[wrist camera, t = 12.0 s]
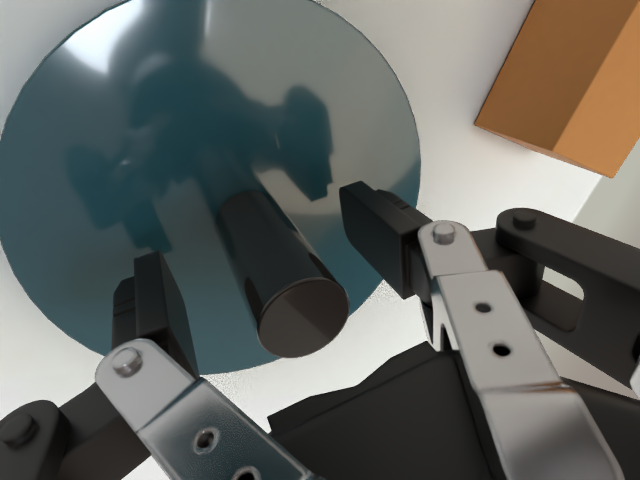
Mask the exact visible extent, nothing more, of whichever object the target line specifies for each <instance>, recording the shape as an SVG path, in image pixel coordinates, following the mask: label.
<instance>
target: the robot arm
mask: <svg viewBox="0 0 640 480" xmlns="http://www.w3.org/2000/svg"><path fill="white" fill-rule="evenodd" d="M339 199H340V205H341V212H342V219H343V225H344V230H345V234H346V236H347V238H348V240H349V242H350V244H351V245H352V246H353V247H354V248H355V249H356V250H357V251H358V252H359V253H360V254H361V255H362V256H363V257H364V259H365V260H366V261H367V262H368V263H369V264H370V265H371V266H372V267H373V268H374V269H375V270H376V271H377V272H378V273H379V274H380V275H381V277H382V278H383V279H384V280H385V281H386V282H387V283H388V284H389V285H390V286H391V287H392V288H393V289H394V290H395V291H396V292H397V293H398V294H399V296H400V297H401V298H402V299H403V300H404V299H406V298H409V297H411V296H413V295H415V294H416V295H417V296H418V297H419V298H420V311H421V315H422V319H423V323H424V327H425V331H426V335H427V339H428V341H425V342H423V343H421V344H419V345H417V346H414V347H412V348H410V349H408V350H406V351H404V352H402V353H400V354H398V355H396V356H393V357H391V358H390V359H389V360H387V361H386V362H385V363H384V364H383V365H381V366H380V367H379V368H378V369H377V370H375V371H374V372H373V373H372V374H371V375H369V376H368V377H367V378H366V379H365V380H363V381H362V382H361V383H360V384H358V385H356V386H354V387H350V388H345V389H341V390H337V391H332V392H328V393H323V394H319V395H314V396H310V397H308V398H306V399H303V400H301V401H299V402H297V403H295V404H293V405H291V406H289V407H287V408H285V409H283V410H280V411H278V412H276V413H274V414H272V415H270V416H268V417H267V419H268V422H269V424H270V427H271V430H272V431H271V432H270V433H268V434H267V433H266V432H265V431H264V430H263V429H262V428H261V427H259V426H258V425H257V424H256V423H255V422H254V421H253V420H252V419H250V418H249V417H248V416H247V415H246V414H245V413H244V412H243V411H241V410H240V409H239V408H238V407H237V406H236V405H235V404H233V403H232V402H231V401H230V400H229V399H228V398H227V397H226V396H224V395H223V394H222V393H221V392H220V391H219V390H218V389H216V388H215V387H214V386H213V385H212V384H211V383H210V382H209V381H207V380H206V379H205V378H203V377H200V376H199V371H198V366H197V361H196V356H195V351H194V346H193V341H192V336H191V331H190V326H189V321H188V316H187V312H186V307H185V303H184V300H183V297H182V295H181V292H180V290H179V288H178V286H177V284H176V281H175V279H174V277H173V275H172V273H171V271H170V269H169V267H168V265H167V262H166V260H165V258H164V256H163V254H162V252H161V251H160V250H157V251H154V252H151V253H148V254H145V255H142V256H139V257H136V258H134V276H133V277H130V278H127V279H124V280H121V282H120V284H119V285H118V287H117V289H116V290H115V292H114V294H113V307H114V308H113V318H112V343H111V351H110V352H109V353H108V354H107V355H106V356H105V357H104V358H103V359H102V361H101V362H100V363H99V365H98V367H97V369H96V372H95V381H96V382H95V383H94V384H92V385H91V386H90V387H89V388H87V389H86V390H85V391H83V392H82V393H80V394H79V395H77V396H76V397H74V398H73V399H71V400H70V401H68V402H67V403H65V404H64V405H62V406H61V407H59V408H58V407H57V406H56V405H55V404H54V403H53V402H51V401H48V400H38V401H34V402H31V403H28V404H25V405H23V406H21V407H19V408H18V409H16V410H14V411H13V412H11V413H10V414H8V415H7V416H6V417H5V418H3V419H2V420H1V421H0V480H121V479H122V478H124V477H125V476H126V475H127V474H129V473H130V472H131V471H132V470H134V469H135V468H136V467H137V466H138V465H140V464H141V463H142V462H143V461H145V460H146V459H147V458H148V457H150V456H152V457H153V458H154V459H155V461H156V462H157V463H158V465H159V466H160V467H161V468H162V470H163V471H164V472H165V474H166V475H167V476H168V477H169V479H170V480H640V400H637V399H633V398H630V397H627V396H623V395H620V394H617V393H614V392H610V391H607V390H603V389H600V388H597V387H593V386H590V385H587V384H584V383H581V382H577V381H574V380H571V379H567V378H564V377H561V376H559V375H558V373H557V371H556V369H555V367H554V365H553V364H552V362H551V360H550V358H549V356H548V354H547V353H546V351H545V349H544V347H543V345H542V343H541V342H540V340H539V338H538V336H537V334H536V332H535V331H534V329H535V330H537V331H539V332H540V333H542V334H543V335H545V336H547V337H548V338H550V339H551V340H553V341H555V342H556V343H558V344H559V345H561V346H563V347H564V348H566V349H567V350H569V351H570V352H572V353H574V354H575V355H577V356H579V357H580V358H582V359H583V360H585V361H587V362H588V363H590V364H591V365H593V366H595V367H596V368H598V369H599V370H601V371H603V372H604V373H606V374H607V375H609V376H611V377H612V378H614V379H615V380H617V381H619V382H620V383H622V384H623V385H625V386H627V387H628V388H630V389H631V390H633V391H634V393H635V394H636V396H637V397H638V398H639V399H640V249H638V248H636V247H633V246H631V245H628V244H625V243H622V242H620V241H617V240H615V239H612V238H610V237H607V236H604V235H602V234H599V233H596V232H594V231H591V230H588V229H586V228H583V227H581V226H578V225H575V224H573V223H570V222H568V221H565V220H562V219H560V218H557V217H554V216H552V215H549V214H546V213H544V212H541V211H538V210H535V209H530V208H513V209H508V210H505V211H503V212H501V213H500V214H499V215H498V217H497V221H496V228H491V229H484V230H478V231H471V232H470V231H469V229H468V228H467V227H466V226H464V225H462V224H460V223H458V222H454V221H447V220H441V221H432V220H431V219H429V218H428V217H427V216H425V215H424V214H422V213H421V212H419V211H418V210H417V209H415V208H414V207H412V206H411V207H410V205H409V204H408V203H407V202H405V201H402V199H401V198H399V197H398V196H397V195H395V194H394V193H392V192H388V191H384V190H381V189H378V190H374V189H372V188H371V187H370V186H368V185H367V184H366V183H364V182H363V181H357V182H354V183H352V184H349V185H346V186H343V187H340V189H339ZM545 266H546V267H548V268H550V269H552V270H554V271H556V272H558V273H560V274H563V275H565V276H567V277H568V278H571V279H573V280H574V281H576V282H577V283H578V284H579V285H580V286H581V288H582V289H583V292H584V299H583V300H580V299H579V298H577V297H575V296H573V295H571V294H569V293H567V292H565V291H563V290H561V289H559V288H557V287H555V286H553V285H552V284H549V283H548V282H546V281H544V280H542V278H543V273H544V268H545ZM533 328H534V329H533Z"/></svg>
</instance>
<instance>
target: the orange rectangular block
mask: <svg viewBox="0 0 640 480" xmlns="http://www.w3.org/2000/svg"><path fill="white" fill-rule="evenodd" d="M475 125H476V126H478V127H480V128H483V129H485V130H487V131H489V132H492V133H494V134H496V135H499V136H501V137H503V138H506V139H508V140H510V141H513V142H515V143H517V144H519V145H522V146H524V147H526V148H529V149H531V150H533V151H536V152H539V153H542V154H544V155H547V156H550V157H553V158H556V159H558V160H561V161H564V162H567V163H570V164H572V165H575V166H578V167H581V168H584V169H586V170H589V171H592V172H595V173H598V174H600V175H603V176H606V177H609V178H613V177H614V176H615V174H616V173H617V171H618V170H619V168H620V167H621V165H622V164H623V162H624V160H625V159H626V157H627V156H628V154H629V153H630V151H631V149H632V148H633V147H634V145H635V143H636V142H637V140H638V139H639V137H640V0H535V2H534V4H533V6H532V8H531V10H530V12H529V14H528V17H527V19H526V21H525V23H524V25H523V27H522V29H521V31H520V33H519V35H518V37H517V39H516V41H515V43H514V45H513V47H512V49H511V51H510V53H509V55H508V57H507V59H506V61H505V63H504V65H503V67H502V69H501V71H500V73H499V75H498V77H497V79H496V81H495V83H494V85H493V87H492V89H491V91H490V94H489V96H488V98H487V100H486V102H485V104H484V106H483V108H482V110H481V112H480V114H479V116H478V118H477V120H476V122H475Z"/></svg>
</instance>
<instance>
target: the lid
mask: <svg viewBox="0 0 640 480" xmlns="http://www.w3.org/2000/svg"><path fill="white" fill-rule="evenodd" d="M420 170H421V158H420V146H419V138H418V133H417V128H416V123H415V119H414V115H413V113H412V110H411V107H410V104H409V101H408V98H407V96H406V94H405V92H404V90H403V88H402V86H401V84H400V82H399V80H398V78H397V76H396V74H395V73H394V71H393V70H392V68H391V67H390V65H389V64H388V63H387V61H386V60H385V58H384V57H383V56H382V54H381V53H380V51H379V50H378V49H377V48H376V47H375V46H374V45H373V44H372V43H371V42H370V41H369V40H368V39H367V38H366V37H365V36H364V35H363V34H362V33H361V32H360V31H359V30H358V29H356V28H355V27H354V26H352V25H351V24H350V23H349V22H347V21H346V20H345V19H343V18H342V17H341V16H340V15H338V14H336V13H335V12H333V11H331V10H329V9H328V8H326V7H324V6H322V5H320V4H319V3H317V2H315V1H313V0H125V1H123V2H120V3H118V4H116V5H114V6H111V7H109V8H107V9H105V10H103V11H102V12H100V13H99V14H97V15H96V16H94V17H93V18H91V19H90V20H88V21H87V22H85V23H84V24H82V25H81V26H79V27H78V28H76V29H75V30H73V31H72V32H71V33H70V34H69V35H68V36H67V37H66V38H65V39H64V40H63V41H61V42H60V43H59V44H58V45H57V46H56V47H55V48H54V49H53V50H52V51H51V52H50V53H49V54H48V55H47V56H45V58H44V59H43V60H42V62H41V63H40V64H39V66H38V67H37V68H36V70H35V71H34V72H33V74H32V75H31V76H30V78H29V79H28V80H27V82H26V83H25V84H24V85H23V87H22V89H21V91H20V93H19V95H18V97H17V99H16V101H15V103H14V105H13V107H12V109H11V111H10V112H9V114H8V116H7V118H6V122H5V125H4V128H3V131H2V135H1V138H0V241H1V245H2V248H3V250H4V253H5V255H6V257H7V259H8V262H9V264H10V266H11V269H12V271H13V273H14V275H15V276H16V278H17V280H18V281H19V283H20V284H21V286H22V287H23V289H24V290H25V292H26V293H27V295H28V297H29V298H30V299H31V300H32V301H33V303H34V304H35V305H36V306H37V307H38V308H39V309H40V310H41V312H42V313H43V314H44V315H45V316H46V317H47V318H48V319H49V320H50V321H51V322H52V323H54V324H55V325H56V326H57V327H58V328H60V329H61V330H62V331H63V332H64V333H66V334H67V335H68V336H69V337H71V338H73V339H74V340H76V341H77V342H79V343H81V344H82V345H84V346H85V347H87V348H88V349H90V350H92V351H94V352H96V353H99V354H101V355H103V356H106V355H107V354H108V353H109V352H110V351H111V343H112V318H113V308H114V307H113V294H114V292H115V290H116V289H117V287H118V285H119V284H120V282H121V280H124V279H127V278H130V277H133V276H134V258H136V257H139V256H142V255H145V254H148V253H151V252H154V251H157V250H160V251H161V252H162V254H163V256H164V258H165V260H166V262H167V265H168V267H169V269H170V271H171V273H172V275H173V277H174V279H175V281H176V284H177V286H178V288H179V290H180V292H181V295H182V297H183V300H184V303H185V307H186V312H187V316H188V321H189V326H190V331H191V336H192V341H193V346H194V351H195V356H196V361H197V366H198V371H199V375H209V374H219V373H229V372H234V371H239V370H244V369H249V368H253V367H256V366H260V365H263V364H266V363H270V362H272V361H275V360H278V359H280V358H298V357H303V356H307V355H310V354H312V353H314V352H316V351H318V350H320V349H322V348H323V347H325V346H326V345H328V344H329V343H330V342H331V341H332V340H334V339H335V338H336V336H337V335H338V334H339V333H340V332H341V330H342V329H343V327H344V325H345V323H346V321H347V319H348V317H349V316H350V315H351V314H353V313H354V312H355V311H356V310H357V309H358V308H359V307H360V306H361V305H362V304H363V303H364V302H365V301H366V300H367V299H368V297H369V296H370V295H371V294H372V293H373V292H374V290H375V289H376V288H377V287H378V285H379V284H380V283H381V281H382V280H383V278H382V277H381V275H380V274H379V273H378V272H377V271H376V270H375V269H374V268H373V267H372V266H371V265H370V264H369V263H368V262H367V261H366V260H365V259H364V257H363V256H362V255H361V254H360V253H359V252H358V251H357V250H356V249H355V248H354V247H353V246H352V245H351V244H350V242H349V240H348V238H347V236H346V234H345V230H344V225H343V219H342V212H341V205H340V199H339V189H340V187H343V186H346V185H349V184H352V183H354V182H357V181H363V182H364V183H366V184H367V185H368V186H370V187H371V188H372V189H374V190H378V189H381V190H384V191H388V192H392V193H394V194H395V195H397V196H398V197H399V198H401V199H402V201H405V202H407V203H408V204H409V205H410V207H411V206H412V207H414V208H415V209H416V205H417V199H418V193H419V187H420Z"/></svg>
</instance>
